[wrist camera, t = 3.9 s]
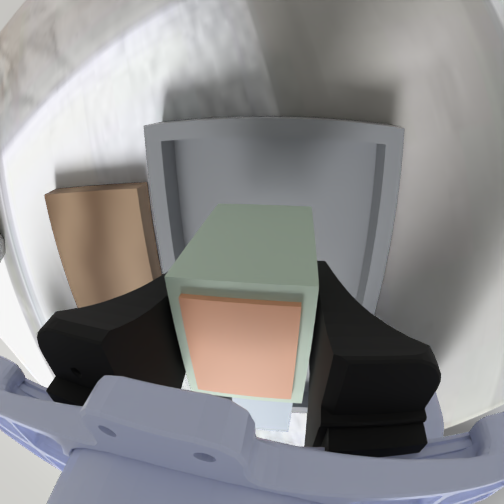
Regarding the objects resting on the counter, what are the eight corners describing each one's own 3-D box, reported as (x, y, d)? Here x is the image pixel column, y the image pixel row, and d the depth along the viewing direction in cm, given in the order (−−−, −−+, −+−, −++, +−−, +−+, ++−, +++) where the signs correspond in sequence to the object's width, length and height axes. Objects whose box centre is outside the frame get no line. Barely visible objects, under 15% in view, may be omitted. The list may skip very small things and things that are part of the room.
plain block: (297, 333, 23) (293, 395, 18) (292, 374, 25) (288, 431, 20) (245, 330, 23) (231, 390, 18) (247, 370, 26) (235, 426, 20)
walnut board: (147, 182, 19) (136, 188, 18) (179, 353, 27) (174, 365, 26) (55, 189, 21) (44, 195, 19) (101, 339, 28) (94, 348, 27)
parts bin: (390, 124, 15) (404, 128, 13) (341, 393, 27) (342, 413, 24) (161, 122, 17) (143, 125, 15) (200, 382, 28) (194, 401, 26)
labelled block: (311, 206, 13) (319, 291, 7) (304, 303, 15) (301, 407, 9) (218, 203, 13) (161, 280, 8) (225, 298, 15) (189, 395, 10)
